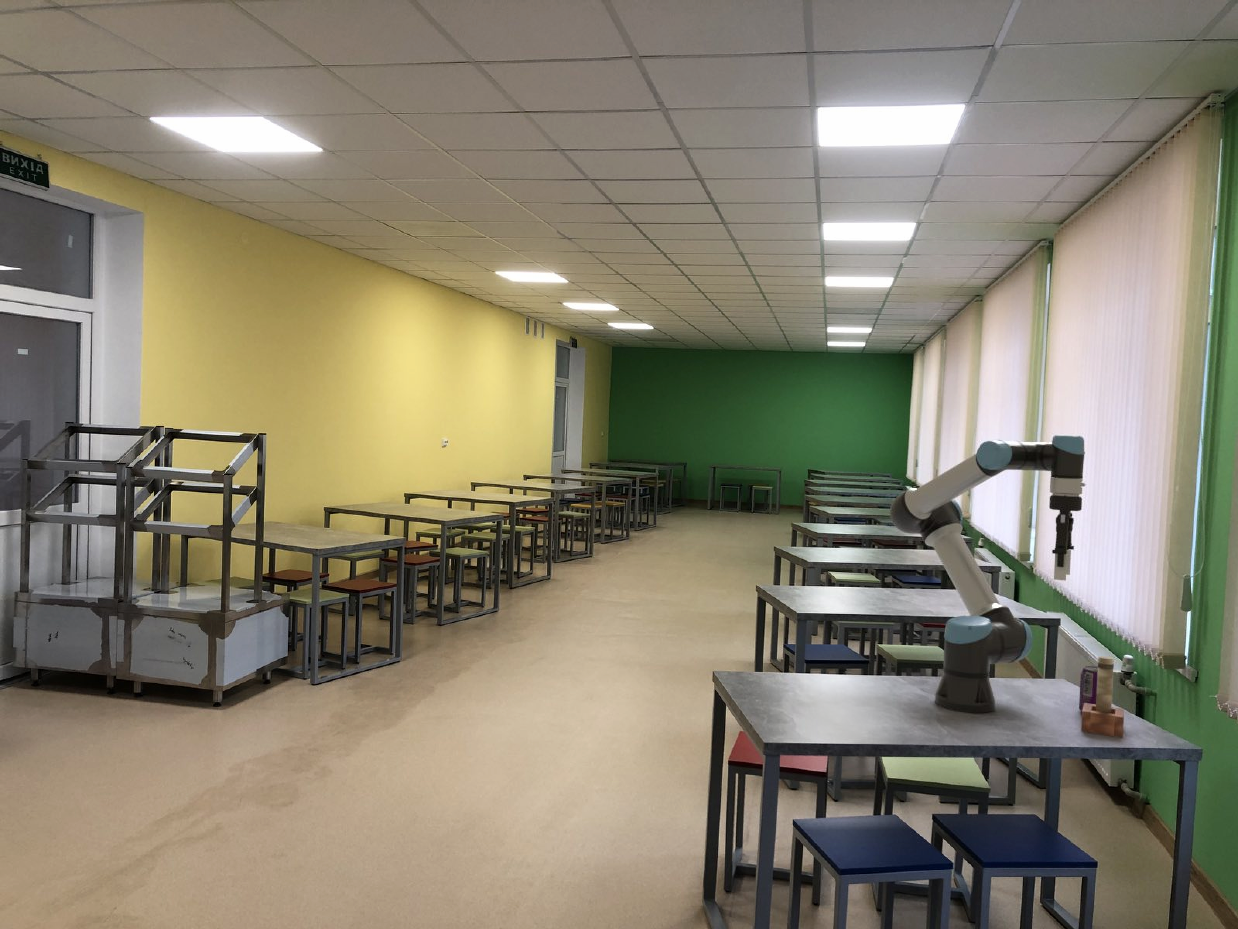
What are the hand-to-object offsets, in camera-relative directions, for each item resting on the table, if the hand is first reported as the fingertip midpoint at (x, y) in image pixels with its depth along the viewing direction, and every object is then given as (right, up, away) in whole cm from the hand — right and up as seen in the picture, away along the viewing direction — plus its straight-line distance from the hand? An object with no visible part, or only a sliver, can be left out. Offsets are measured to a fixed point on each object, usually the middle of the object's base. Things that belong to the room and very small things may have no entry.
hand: (1062, 577), depth 238 cm
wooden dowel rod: (+6, -37, -8) cm, 39 cm away
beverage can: (+12, -37, +7) cm, 40 cm away
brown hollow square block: (+6, -37, -8) cm, 39 cm away
